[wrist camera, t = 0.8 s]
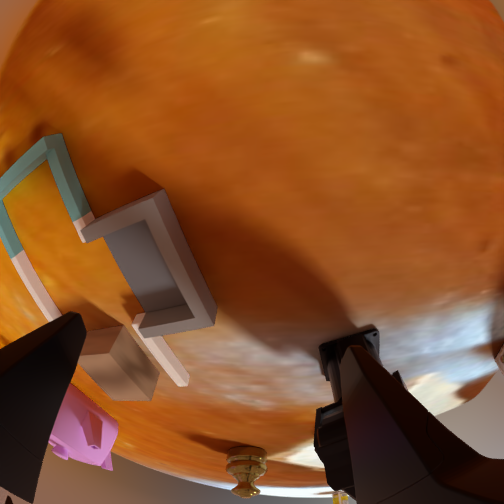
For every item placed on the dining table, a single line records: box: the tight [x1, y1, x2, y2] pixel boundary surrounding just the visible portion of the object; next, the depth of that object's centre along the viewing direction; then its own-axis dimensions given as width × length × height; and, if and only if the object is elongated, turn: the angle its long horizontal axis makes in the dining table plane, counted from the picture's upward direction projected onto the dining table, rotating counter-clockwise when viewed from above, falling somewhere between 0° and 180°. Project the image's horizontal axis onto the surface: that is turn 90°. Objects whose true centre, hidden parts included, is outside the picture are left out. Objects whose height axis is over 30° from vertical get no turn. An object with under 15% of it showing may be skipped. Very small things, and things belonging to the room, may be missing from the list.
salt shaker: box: [226, 446, 267, 498], centre depth 36 cm, size 7×7×10 cm
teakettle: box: [48, 384, 118, 470], centre depth 31 cm, size 17×17×12 cm
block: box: [78, 325, 160, 401], centre depth 26 cm, size 8×6×4 cm
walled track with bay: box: [0, 133, 218, 387], centre depth 22 cm, size 29×21×2 cm
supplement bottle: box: [332, 491, 349, 504], centre depth 61 cm, size 6×6×10 cm
